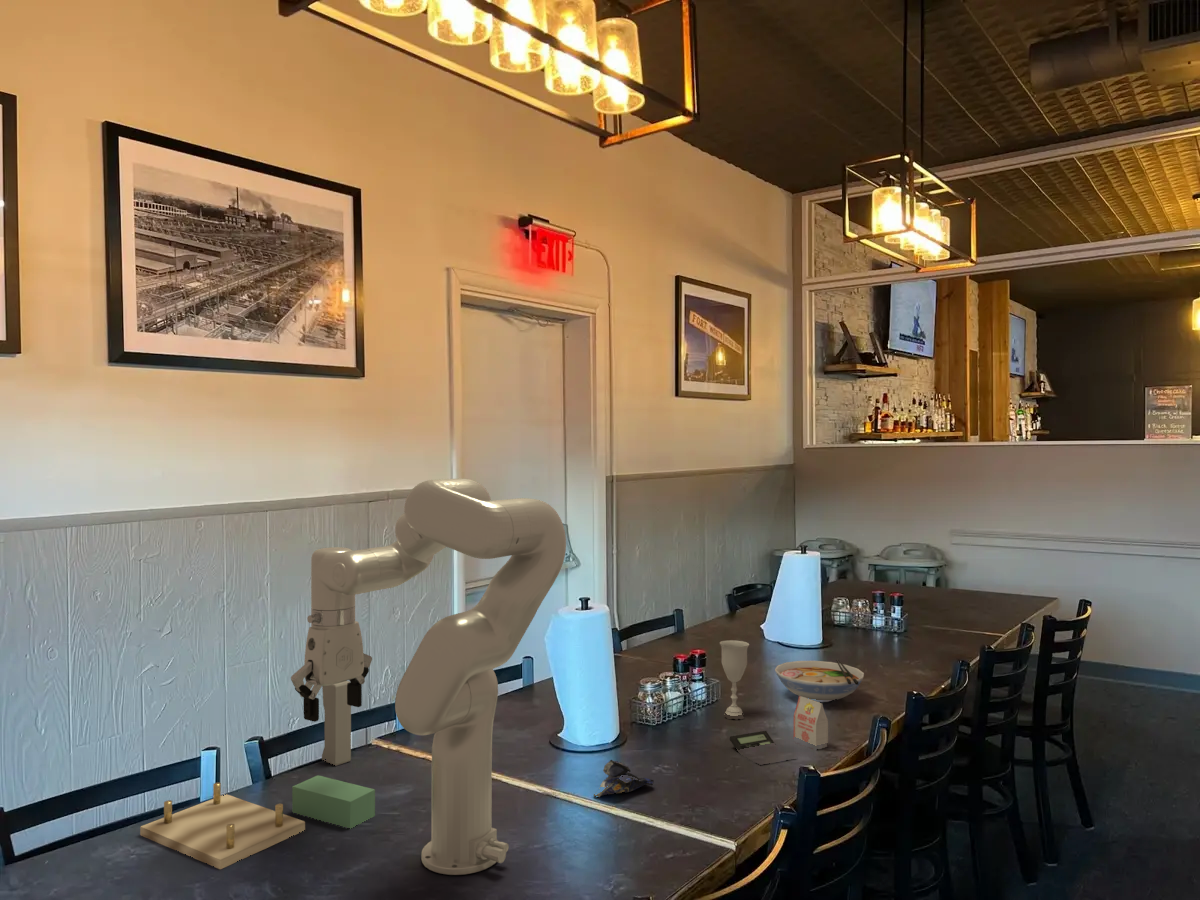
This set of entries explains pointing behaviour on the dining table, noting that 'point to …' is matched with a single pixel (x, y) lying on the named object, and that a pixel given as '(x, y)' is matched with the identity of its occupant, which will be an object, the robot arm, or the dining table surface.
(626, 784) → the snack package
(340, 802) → the olive green box
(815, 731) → the paper takeout bag
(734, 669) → the chalice
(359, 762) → the dining table surface
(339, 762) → the vintage mobile phone
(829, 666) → the ramen bowl
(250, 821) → the chassis plate
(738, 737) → the calculator
